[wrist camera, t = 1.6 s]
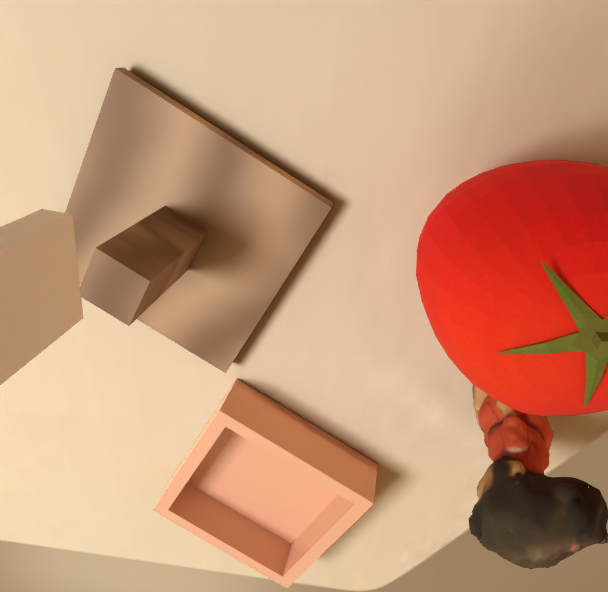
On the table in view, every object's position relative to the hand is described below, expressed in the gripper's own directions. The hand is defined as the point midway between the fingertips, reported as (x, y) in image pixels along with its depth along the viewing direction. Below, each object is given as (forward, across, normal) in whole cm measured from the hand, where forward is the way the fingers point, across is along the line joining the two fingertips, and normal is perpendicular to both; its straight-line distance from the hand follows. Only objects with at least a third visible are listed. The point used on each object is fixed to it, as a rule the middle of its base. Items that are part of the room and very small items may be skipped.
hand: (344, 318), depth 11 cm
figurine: (+21, +11, -16) cm, 29 cm away
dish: (+21, -5, -27) cm, 35 cm away
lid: (+21, -13, -7) cm, 25 cm away
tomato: (+21, +9, -4) cm, 23 cm away
